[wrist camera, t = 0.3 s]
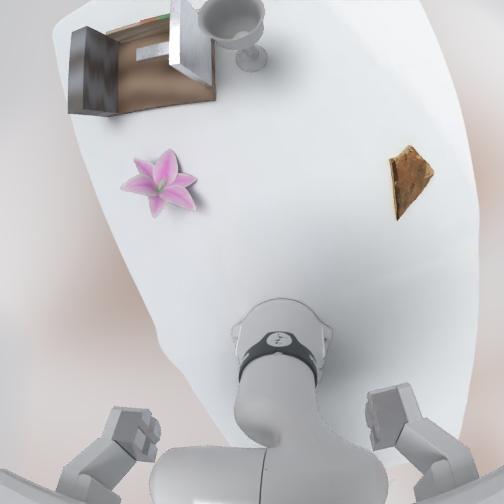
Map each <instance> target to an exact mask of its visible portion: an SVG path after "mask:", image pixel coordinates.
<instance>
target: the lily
mask: <svg viewBox="0 0 504 504" xmlns="http://www.w3.org/2000/svg"><path fill="white" fill-rule="evenodd" d="M134 162H135V164H136V166H137V168H138V170H139V172H140V174H139V175H137V176H135V177H133V178H131V179H129V180H128V181H126V182H125V183H124V184H123V185H121V187H120V189H121V190H123V191H127V192H132V193H138V194H142V195H147V196H148V198H149V205H150V210H151V214H152V217H153V218H156V217H157V216H158V215H159V214H160V212H161V211H162V210H163V209H164V207H165V206H166V205H167V203H168V202H170V203H173V204H175V205H178V206H180V207H183V208H185V209H188V210H190V211H194V212H195V211H196V210H197V209H196V205H195V203H194V201H193V199H192V197H191V195H190V194H189V192H188V191H187V189H185V187H187V186H189V185H191V184H192V183H194V182H195V181H196V180H197V178H196V177H194V176H191V175H188V174H183V173H178V163H177V159H176V156H175V153H174V151H173V150H171V149H169V150H168V151H166V152H165V153H164V154H163V155H162V156H161V157H160V158H159V159H158V160H157V161H156V163H155V164H154V165H153V164H151V163H149V162H147V161H144V160H141V159H138V158H134Z"/></svg>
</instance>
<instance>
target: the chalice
mask: <svg viewBox="0 0 504 504" xmlns="http://www.w3.org/2000/svg"><path fill="white" fill-rule="evenodd" d="M264 15H265V9H264V4H263V3H262V1H261V0H208V1H206V2H205V3H204V5H203V6H202V8H201V9H200V11H199V14H198V18H197V19H198V26H199V28H200V29H201V31H202V32H203V33H204V34H205V35H207V36H208V37H210V38H213V39H214V40H215V41H216V43H217V44H219V45H220V46H222V47H223V48H227V49H230V50H239V51H238V52H237V54H236V63H237V65H238V67H239V68H241V69H242V70H244V71H247V72H254V71H258V70H260V69H261V68H263V67H264V66H265V64H266V62H267V58H268V57H267V53H266V51H265V50H264V49H263V48H262V47H261V46H258V45H254V44H255V43H256V42H257V41H258V40H259V39H260V37H261V36H262V34H263V30H264V25H263V19H264Z"/></svg>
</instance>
